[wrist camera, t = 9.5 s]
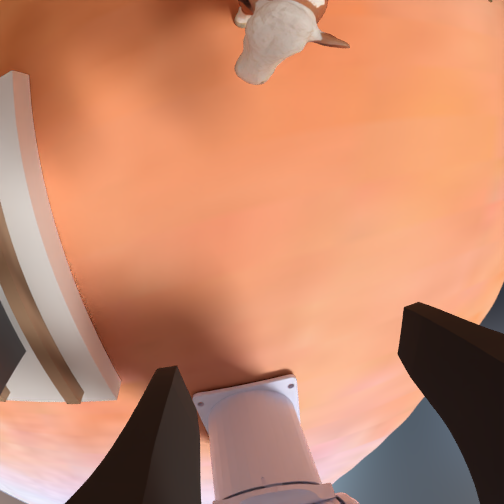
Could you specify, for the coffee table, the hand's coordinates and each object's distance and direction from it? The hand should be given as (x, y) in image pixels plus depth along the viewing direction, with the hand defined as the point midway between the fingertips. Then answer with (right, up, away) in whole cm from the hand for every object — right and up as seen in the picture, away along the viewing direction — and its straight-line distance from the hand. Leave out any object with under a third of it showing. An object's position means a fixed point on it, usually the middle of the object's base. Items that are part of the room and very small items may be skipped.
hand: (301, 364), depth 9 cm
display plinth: (-20, +2, +7) cm, 21 cm away
